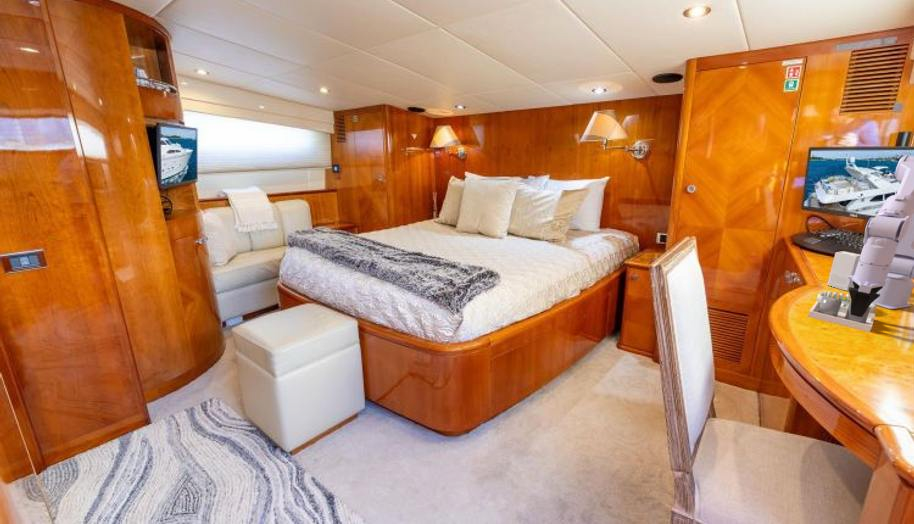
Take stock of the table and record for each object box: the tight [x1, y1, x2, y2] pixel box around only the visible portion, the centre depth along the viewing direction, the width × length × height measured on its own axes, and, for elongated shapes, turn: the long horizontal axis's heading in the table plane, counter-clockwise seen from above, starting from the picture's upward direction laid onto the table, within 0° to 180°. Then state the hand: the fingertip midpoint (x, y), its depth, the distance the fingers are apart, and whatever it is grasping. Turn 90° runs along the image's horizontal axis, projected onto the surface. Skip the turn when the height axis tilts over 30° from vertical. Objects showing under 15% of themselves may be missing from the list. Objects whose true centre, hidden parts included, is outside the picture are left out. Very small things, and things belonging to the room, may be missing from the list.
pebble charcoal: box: [845, 303, 871, 324], centre depth 103 cm, size 4×4×4 cm
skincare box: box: [827, 250, 861, 292], centre depth 129 cm, size 6×4×12 cm
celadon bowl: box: [816, 291, 878, 314], centre depth 114 cm, size 12×12×3 cm
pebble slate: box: [818, 297, 842, 317], centre depth 107 cm, size 4×4×4 cm
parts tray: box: [807, 300, 877, 333], centre depth 105 cm, size 12×12×2 cm
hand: (857, 311), depth 102 cm, fingers open, 7 cm apart
